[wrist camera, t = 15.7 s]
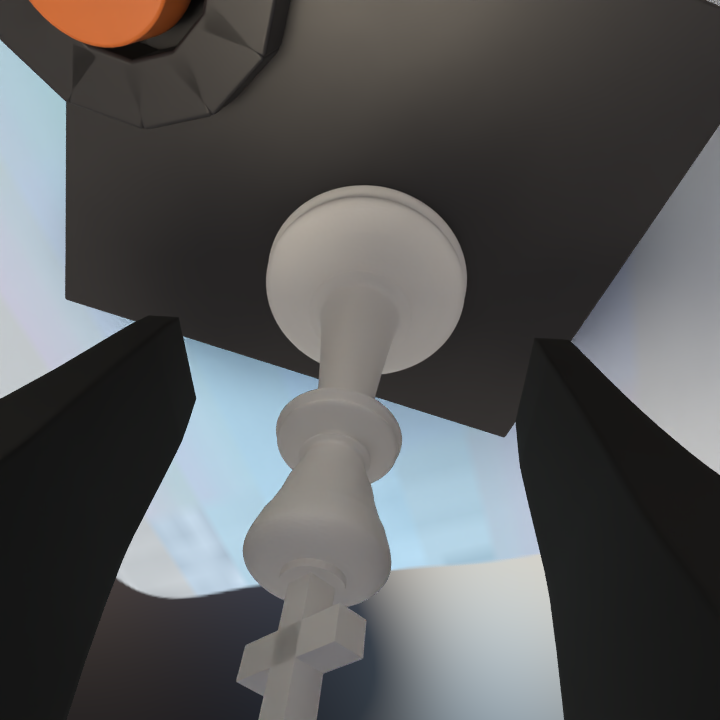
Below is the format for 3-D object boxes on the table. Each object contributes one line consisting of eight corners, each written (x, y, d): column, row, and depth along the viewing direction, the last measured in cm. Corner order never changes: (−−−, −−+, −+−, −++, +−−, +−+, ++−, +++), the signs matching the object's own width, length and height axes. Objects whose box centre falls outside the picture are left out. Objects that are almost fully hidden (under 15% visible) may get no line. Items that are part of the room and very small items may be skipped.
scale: (764, 12, 11) (841, 26, 9) (500, 414, 17) (510, 473, 15) (25, -307, 9) (-86, -379, 7) (40, 266, 16) (-16, 311, 14)
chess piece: (507, 291, 14) (625, 772, 6) (362, 390, 16) (298, 835, 8) (371, 136, 12) (256, 519, 4) (229, 273, 14) (-30, 694, 6)
